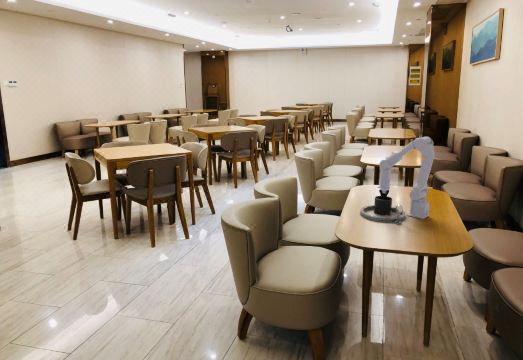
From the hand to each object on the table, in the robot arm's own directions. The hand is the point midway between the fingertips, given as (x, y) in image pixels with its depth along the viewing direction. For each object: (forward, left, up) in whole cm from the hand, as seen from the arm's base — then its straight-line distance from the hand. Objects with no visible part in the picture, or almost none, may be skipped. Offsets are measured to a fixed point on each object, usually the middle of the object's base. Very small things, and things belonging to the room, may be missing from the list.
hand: (383, 201), depth 243 cm
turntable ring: (-7, +14, -3) cm, 16 cm away
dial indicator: (-19, +21, -3) cm, 29 cm away
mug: (-5, +9, -4) cm, 11 cm away
